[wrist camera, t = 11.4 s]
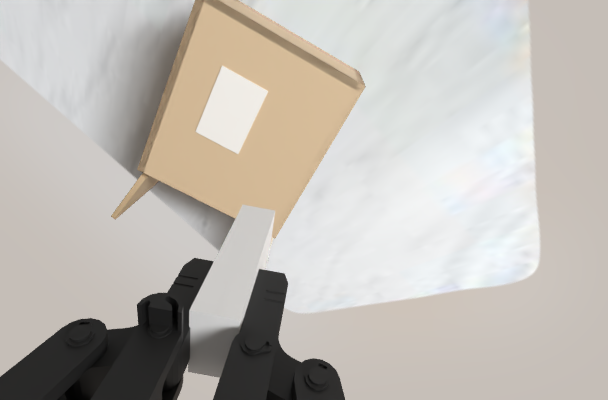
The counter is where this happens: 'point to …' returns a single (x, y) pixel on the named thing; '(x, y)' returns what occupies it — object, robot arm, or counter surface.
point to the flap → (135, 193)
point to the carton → (247, 111)
